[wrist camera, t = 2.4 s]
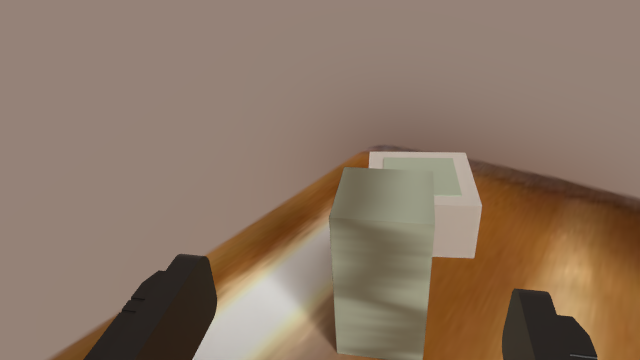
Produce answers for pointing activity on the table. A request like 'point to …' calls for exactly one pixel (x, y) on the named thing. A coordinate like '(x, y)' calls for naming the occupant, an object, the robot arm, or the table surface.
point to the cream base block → (444, 197)
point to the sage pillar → (382, 261)
